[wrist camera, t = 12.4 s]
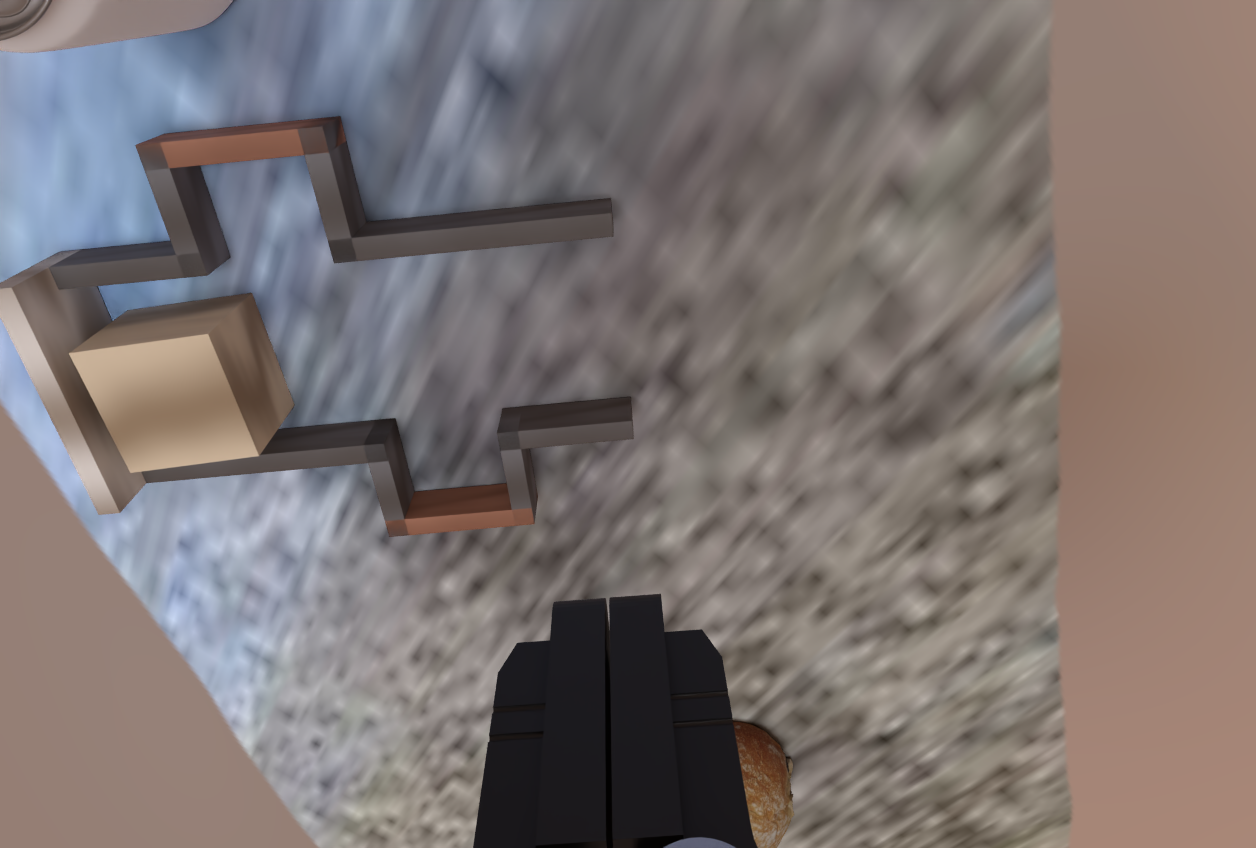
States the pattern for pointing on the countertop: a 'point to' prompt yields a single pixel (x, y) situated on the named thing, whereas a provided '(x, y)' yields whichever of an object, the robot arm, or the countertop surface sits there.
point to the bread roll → (765, 784)
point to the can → (97, 21)
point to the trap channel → (74, 310)
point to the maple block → (186, 382)
